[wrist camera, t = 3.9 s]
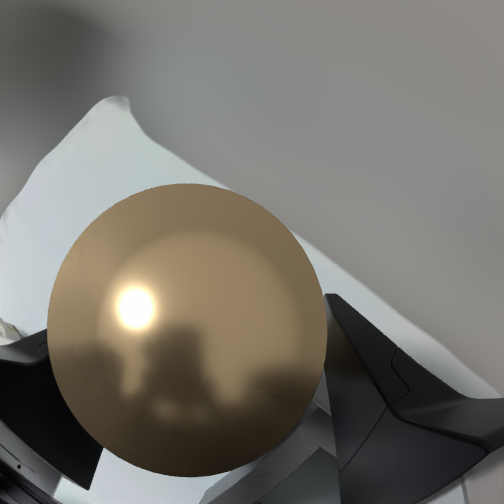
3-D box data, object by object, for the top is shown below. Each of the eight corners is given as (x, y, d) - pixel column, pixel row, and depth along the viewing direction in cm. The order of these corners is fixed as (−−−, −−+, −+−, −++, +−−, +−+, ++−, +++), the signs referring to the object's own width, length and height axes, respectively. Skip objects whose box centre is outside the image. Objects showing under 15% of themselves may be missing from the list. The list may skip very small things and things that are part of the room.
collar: (409, 464, 11) (430, 479, 8) (311, 548, 9) (315, 572, 6) (310, 396, 13) (318, 406, 11) (207, 490, 12) (193, 511, 9)
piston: (301, 361, 14) (395, 393, 3) (234, 394, 14) (109, 499, 2) (266, 297, 16) (235, 136, 4) (201, 330, 15) (28, 259, 4)
